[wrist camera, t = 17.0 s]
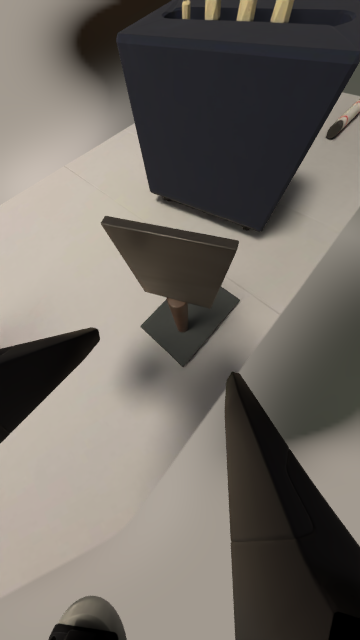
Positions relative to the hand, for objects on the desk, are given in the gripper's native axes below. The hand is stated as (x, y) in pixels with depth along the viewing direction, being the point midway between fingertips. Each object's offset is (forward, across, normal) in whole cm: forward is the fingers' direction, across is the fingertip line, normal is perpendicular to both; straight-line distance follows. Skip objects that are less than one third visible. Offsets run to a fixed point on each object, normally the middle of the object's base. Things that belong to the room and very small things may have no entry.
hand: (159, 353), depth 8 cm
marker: (+49, -22, -36) cm, 64 cm away
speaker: (+29, +1, -15) cm, 32 cm away
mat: (+11, 0, +2) cm, 12 cm away
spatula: (+9, 0, +3) cm, 10 cm away
